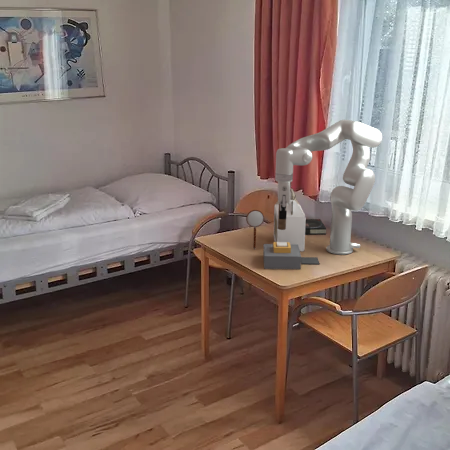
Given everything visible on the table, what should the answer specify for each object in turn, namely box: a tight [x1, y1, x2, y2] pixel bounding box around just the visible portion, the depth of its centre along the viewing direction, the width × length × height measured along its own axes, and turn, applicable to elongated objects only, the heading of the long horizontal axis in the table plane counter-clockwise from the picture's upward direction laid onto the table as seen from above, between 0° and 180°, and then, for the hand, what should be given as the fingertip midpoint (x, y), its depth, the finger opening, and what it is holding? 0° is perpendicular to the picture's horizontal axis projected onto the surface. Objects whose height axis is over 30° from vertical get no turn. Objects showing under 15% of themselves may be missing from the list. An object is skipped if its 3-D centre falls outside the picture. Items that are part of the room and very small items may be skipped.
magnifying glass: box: [245, 209, 265, 250], centre depth 263 cm, size 9×2×20 cm, turn 97°
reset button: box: [277, 242, 287, 247], centre depth 247 cm, size 4×4×6 cm
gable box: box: [273, 188, 307, 252], centre depth 269 cm, size 22×13×28 cm, turn 179°
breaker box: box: [262, 241, 302, 270], centre depth 248 cm, size 16×16×8 cm
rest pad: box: [301, 256, 321, 266], centre depth 250 cm, size 8×8×1 cm
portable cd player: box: [305, 218, 327, 236], centre depth 295 cm, size 16×17×4 cm
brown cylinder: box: [278, 202, 287, 230], centre depth 242 cm, size 4×4×15 cm
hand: (282, 217), depth 242 cm, fingers closed on brown cylinder, 3 cm apart
